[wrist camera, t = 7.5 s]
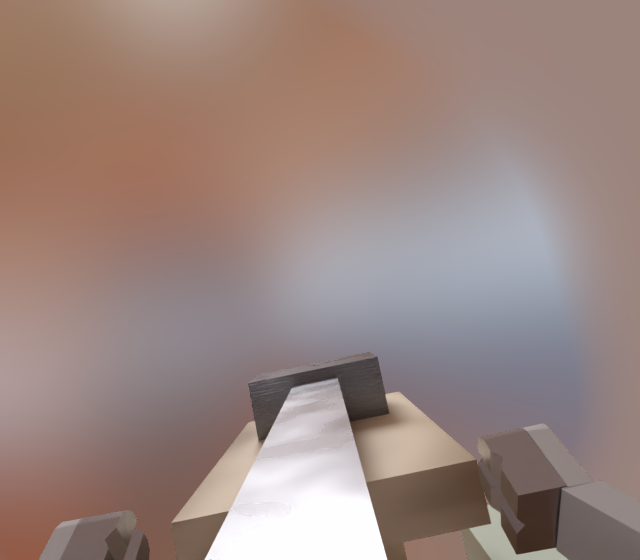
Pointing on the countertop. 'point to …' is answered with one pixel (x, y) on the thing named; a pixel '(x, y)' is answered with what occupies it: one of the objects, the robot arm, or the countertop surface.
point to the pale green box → (498, 543)
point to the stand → (381, 478)
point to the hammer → (307, 467)
